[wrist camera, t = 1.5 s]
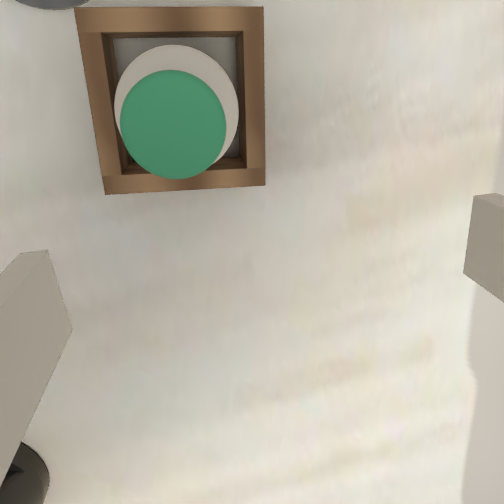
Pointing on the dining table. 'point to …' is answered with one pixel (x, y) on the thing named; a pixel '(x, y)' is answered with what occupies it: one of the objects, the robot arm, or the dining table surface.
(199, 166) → the milk bottle
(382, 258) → the dining table surface
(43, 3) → the slate coaster
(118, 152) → the walnut pocket
